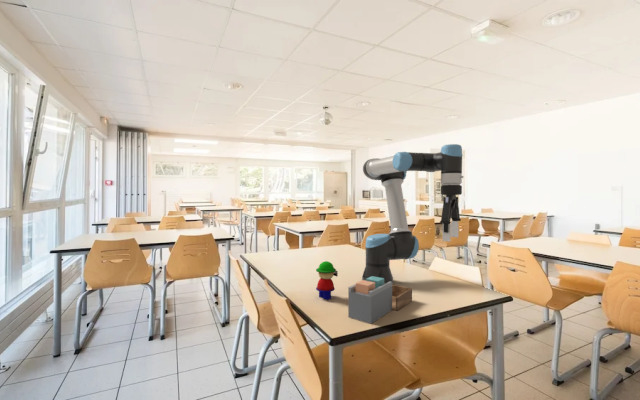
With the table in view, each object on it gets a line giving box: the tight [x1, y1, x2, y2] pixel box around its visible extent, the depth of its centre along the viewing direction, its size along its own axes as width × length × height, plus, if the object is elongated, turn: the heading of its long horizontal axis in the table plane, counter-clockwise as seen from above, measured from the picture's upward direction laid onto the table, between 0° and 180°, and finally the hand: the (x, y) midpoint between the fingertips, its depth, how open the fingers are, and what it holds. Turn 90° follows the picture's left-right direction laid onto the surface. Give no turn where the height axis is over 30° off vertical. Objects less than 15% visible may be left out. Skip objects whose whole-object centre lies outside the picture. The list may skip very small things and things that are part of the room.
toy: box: [315, 260, 338, 301], centre depth 128 cm, size 9×9×15 cm
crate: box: [384, 283, 413, 312], centre depth 121 cm, size 13×14×5 cm
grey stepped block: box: [347, 280, 393, 324], centre depth 110 cm, size 9×16×10 cm, turn 141°
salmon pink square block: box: [355, 279, 375, 294], centre depth 106 cm, size 5×5×3 cm
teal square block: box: [366, 276, 384, 288], centre depth 112 cm, size 5×5×3 cm
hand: (450, 239), depth 118 cm, fingers open, 13 cm apart
